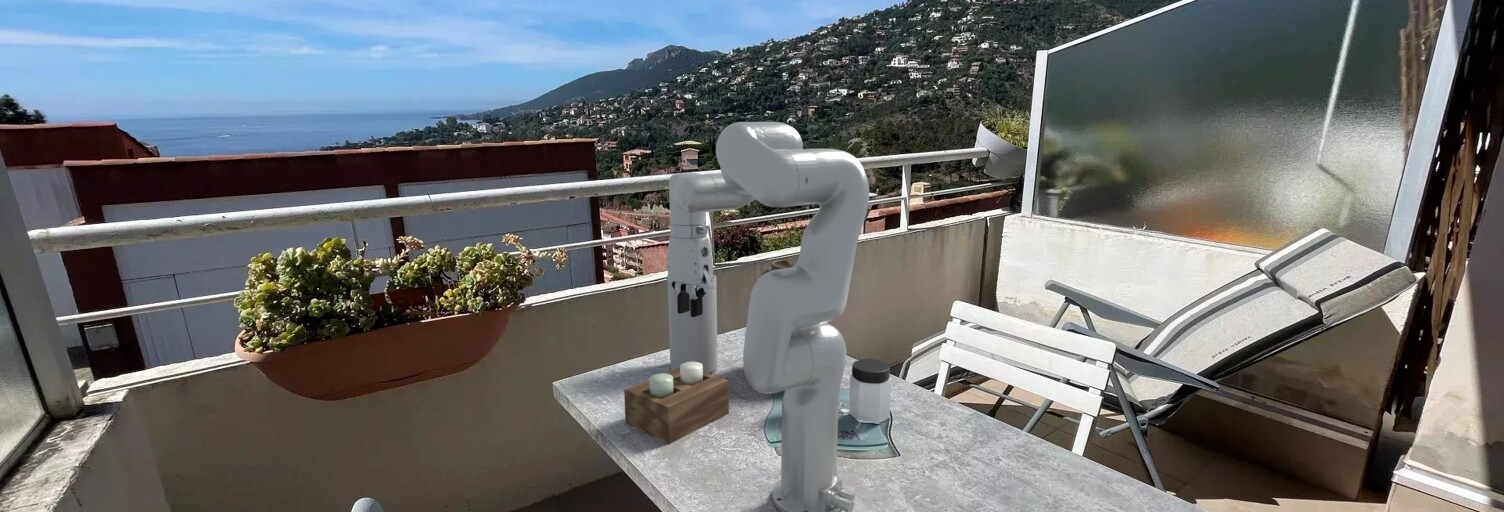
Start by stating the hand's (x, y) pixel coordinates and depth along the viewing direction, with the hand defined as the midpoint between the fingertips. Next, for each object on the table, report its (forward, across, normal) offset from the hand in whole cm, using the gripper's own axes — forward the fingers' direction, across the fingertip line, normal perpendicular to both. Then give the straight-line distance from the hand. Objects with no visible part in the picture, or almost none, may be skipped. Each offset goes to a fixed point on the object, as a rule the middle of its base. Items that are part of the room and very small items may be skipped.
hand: (690, 313), depth 140 cm
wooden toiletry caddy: (+23, 0, +4) cm, 24 cm away
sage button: (+16, 0, +9) cm, 19 cm away
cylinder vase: (+23, +18, -18) cm, 35 cm away
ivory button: (+16, 0, 0) cm, 16 cm away
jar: (+23, -32, -24) cm, 46 cm away
